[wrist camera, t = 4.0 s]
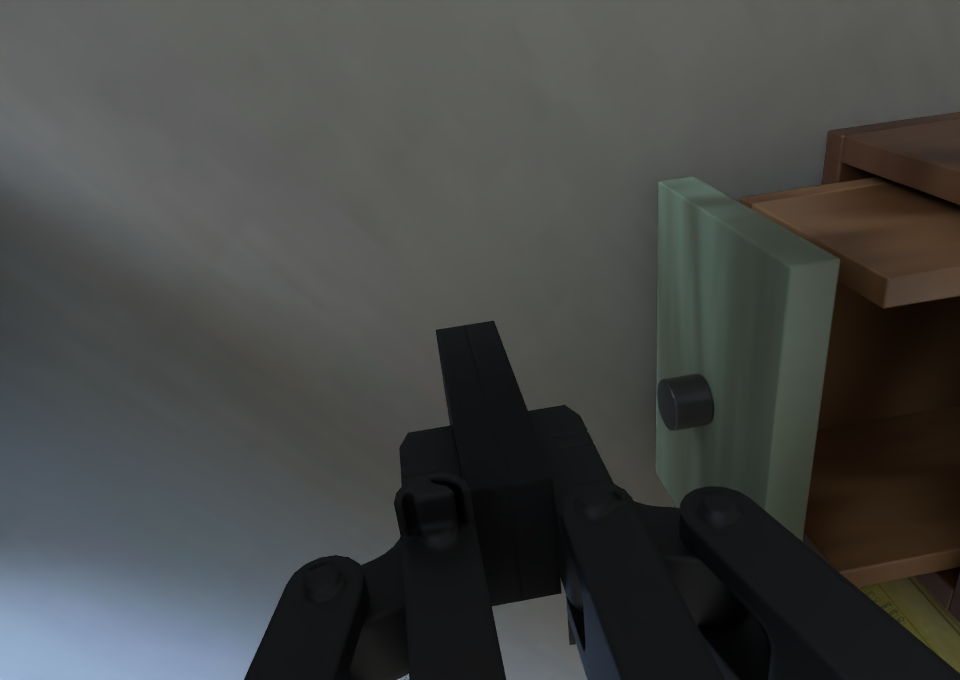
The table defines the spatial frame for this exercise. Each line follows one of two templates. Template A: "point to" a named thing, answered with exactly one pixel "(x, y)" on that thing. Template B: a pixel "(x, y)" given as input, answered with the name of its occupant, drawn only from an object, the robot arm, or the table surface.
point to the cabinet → (917, 164)
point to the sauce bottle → (919, 615)
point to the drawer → (816, 365)
